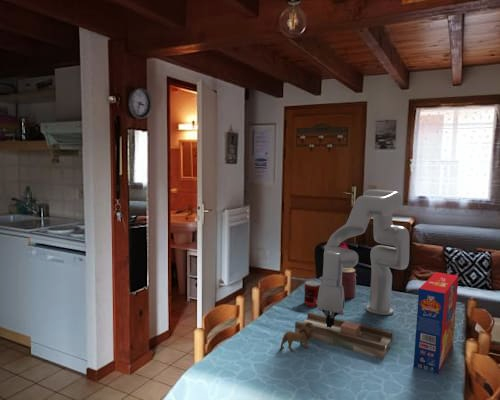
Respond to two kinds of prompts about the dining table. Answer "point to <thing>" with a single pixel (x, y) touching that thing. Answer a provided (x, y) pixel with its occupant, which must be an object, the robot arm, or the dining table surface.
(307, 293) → the canned food
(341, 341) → the channel board
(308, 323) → the lion figurine
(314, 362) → the dining table surface
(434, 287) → the pasta box
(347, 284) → the canister
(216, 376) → the dining table surface
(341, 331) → the block
